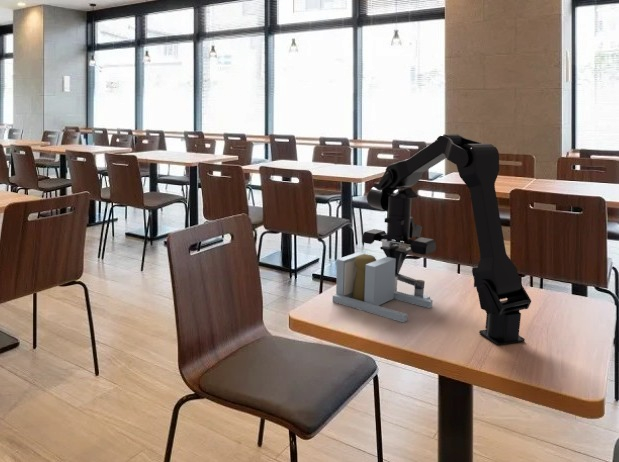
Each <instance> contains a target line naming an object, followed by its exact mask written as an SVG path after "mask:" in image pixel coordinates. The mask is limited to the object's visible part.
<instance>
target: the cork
mask: <svg viewBox="0 0 619 462" xmlns="http://www.w3.org/2000/svg"><path fill="white" fill-rule="evenodd" d="M374 261H377V258H376V257H375V256H374V255H372V254H365V255H359V256H357V257H356V259H355V266H356V268H357V271H356V277H355V283H354V289H353V295H352V297H351V298H353V299H356V300H360V301H363V302H364V295H365V267H366V264H369V263H371V262H374Z"/></svg>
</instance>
